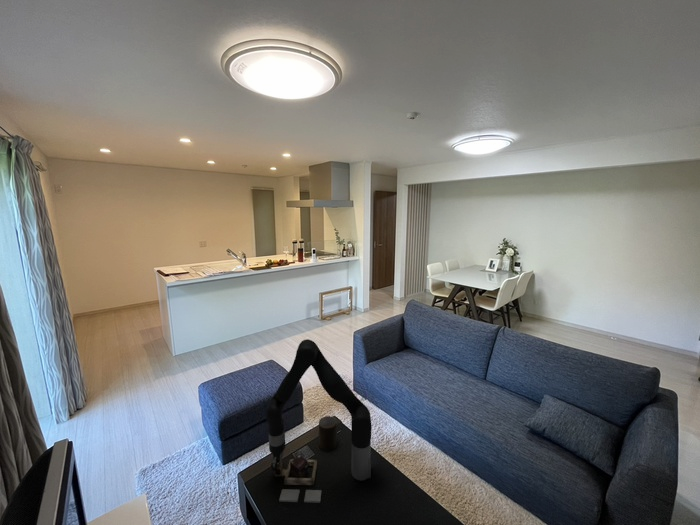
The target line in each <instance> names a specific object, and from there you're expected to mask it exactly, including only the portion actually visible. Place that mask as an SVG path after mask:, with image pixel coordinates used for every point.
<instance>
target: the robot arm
mask: <svg viewBox="0 0 700 525" xmlns="http://www.w3.org/2000/svg"><path fill="white" fill-rule="evenodd" d="M295 352H296V353H295V356H294V360H293V363H292V366H291V367H290V370H289V371H288V373H287V374H286V375H285V377H284V378H283V379H282V380H281V383H280V385H279V386H278V388H277V390H276V392H274V394H273V396H272V398H271V399H270V402H269V404H268V406H267V409H266V412H265V417H266V422H267V424H268V447H269V448H268V449H269V452H270V453H271V455H272V462H271V464H270V468H271V470H272V471H273V472H274V476H275V475H280V463H281V460H282V461H283V457H284V451H285V449H286V433H285V421H284V419H283V417H282V416H283V411H284V408H285V405H286V403H287V402H288V401H289V400H290V399H291V397H292V395H293V393H294V392H295V390H296V388H297V387H298V384H299V383H300V381H301V379H302V377H303V376H304V375H305V374H306V372H307V370H309V369H310V367H312V368H313V369H314V372H315V374H316V376H317V379H318V380H319V382H320V384H321V386H322V388H323V390H324V391H325V392H326V393H327V394H328V396H329V397H330V398H331V399H333V401H335V402H337V403H340V404H342V405H343V406H344V407H345V408H346V410H347V411H348V413H349V414H350V418H351V422H350V423H351V427H350V428H351V468H350V469H351V475H352V477H353V478H354V479H355V480H357V481H361V482H362V481H365V480H367V479H371V477H372V476H371V475H372V474H371V472H372V471H371V469H372V468H371V466H372V459H371V458H372V457H371V447H372V446H371V445H372V444H371V443H372V442H371V441H372V417H371V416H372V415H371V412H370V409H369V408H368V407H367V406H366V404H364V403H363V402H362V401H361V400H360V399H359V398H358V397H357V395H356V394H354V393H355V392H353V390H352V389H351V388H350V387H349V385H348V384H347V383H346V382H345V380H344V379H343V378H342V376H341V375H340V374H339V373H338V372H337V371H336V369H335V368H334V367H333V366H332V364H331V363H330V362H329V361H328V360H327V359H326V357H325V356H324V354H323V353H322V351H321V349H320V347H318V344H316V342H315V341H314V340H311V339H303V340H302V341H301V342H300V343H299V345H298V346H297V349H296V351H295ZM277 464H278V465H277Z"/></svg>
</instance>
